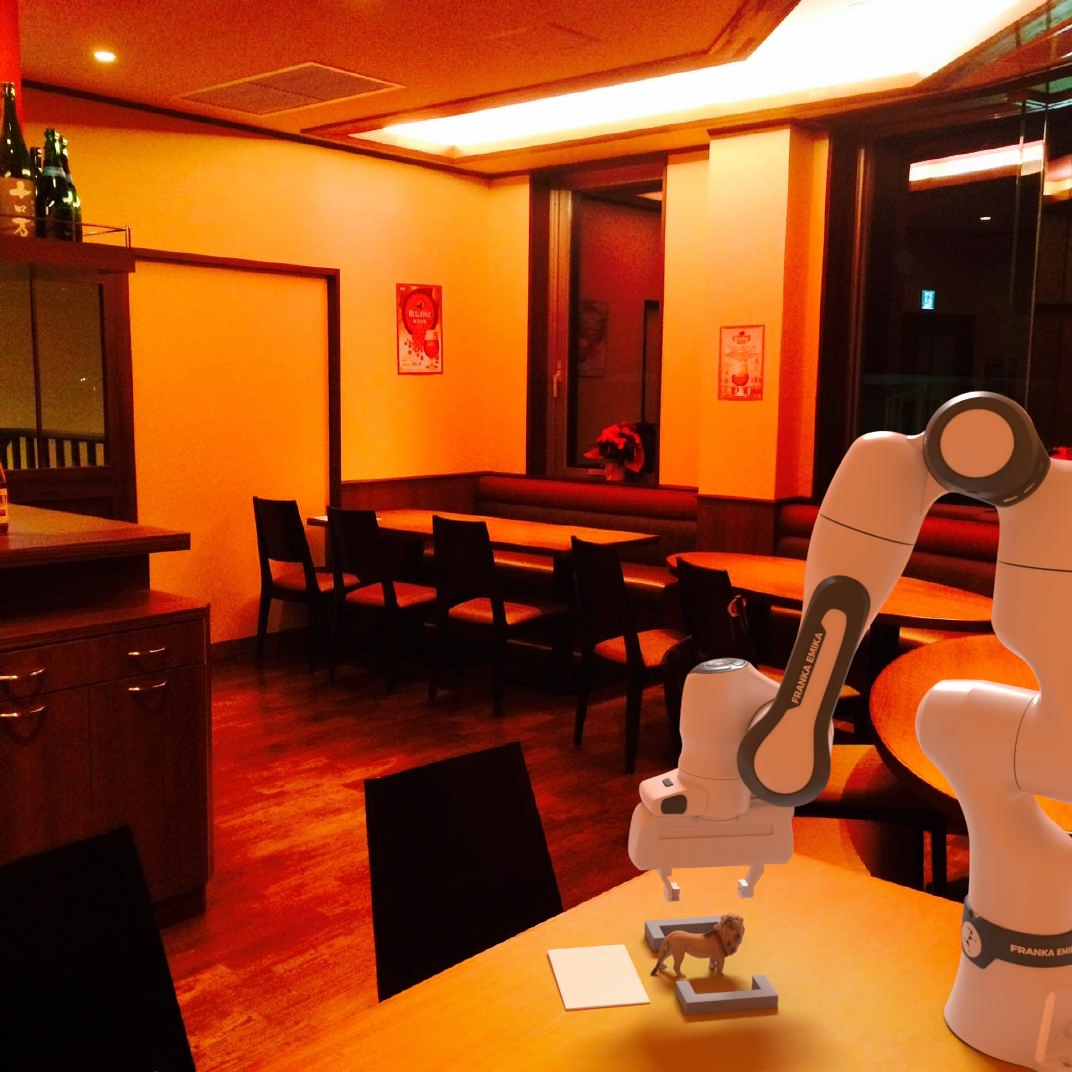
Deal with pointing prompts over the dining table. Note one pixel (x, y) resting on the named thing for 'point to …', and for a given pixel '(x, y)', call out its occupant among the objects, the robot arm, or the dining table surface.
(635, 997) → the ceramic tile
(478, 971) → the dining table surface
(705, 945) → the lion figurine
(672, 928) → the grey bracket pair
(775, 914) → the dining table surface
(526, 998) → the dining table surface
